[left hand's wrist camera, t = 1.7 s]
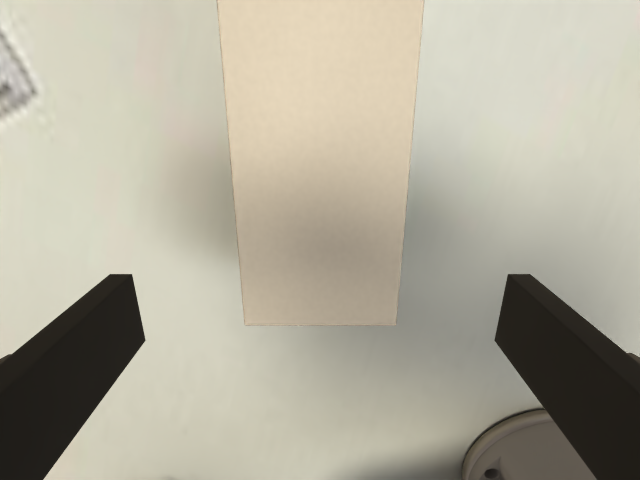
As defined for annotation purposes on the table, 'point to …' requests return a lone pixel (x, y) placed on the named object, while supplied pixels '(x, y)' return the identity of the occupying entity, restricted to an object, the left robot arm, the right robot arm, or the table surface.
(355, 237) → the long beige bar
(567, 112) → the table surface
